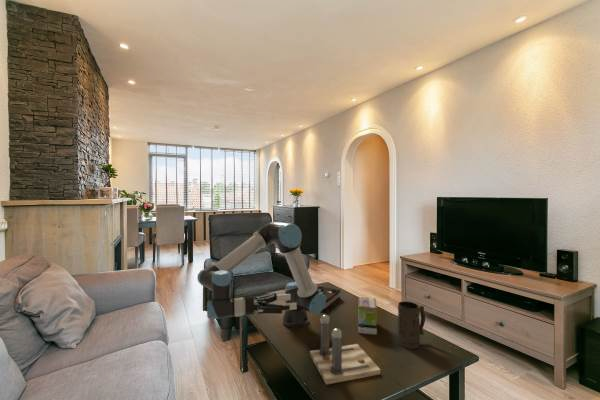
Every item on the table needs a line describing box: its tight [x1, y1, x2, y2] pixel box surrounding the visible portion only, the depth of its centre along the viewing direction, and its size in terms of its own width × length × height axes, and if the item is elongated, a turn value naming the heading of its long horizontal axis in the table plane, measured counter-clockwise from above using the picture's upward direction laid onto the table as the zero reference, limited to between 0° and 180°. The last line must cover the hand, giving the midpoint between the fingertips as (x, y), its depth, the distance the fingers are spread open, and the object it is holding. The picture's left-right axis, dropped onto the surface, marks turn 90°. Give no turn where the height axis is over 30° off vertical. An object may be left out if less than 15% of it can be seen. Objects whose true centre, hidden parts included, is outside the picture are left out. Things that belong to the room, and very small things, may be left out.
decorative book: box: [317, 285, 341, 312], centre depth 196 cm, size 19×8×30 cm
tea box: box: [357, 296, 378, 335], centre depth 158 cm, size 15×10×15 cm
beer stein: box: [396, 301, 426, 350], centre depth 142 cm, size 15×11×20 cm
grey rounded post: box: [330, 327, 343, 375], centre depth 116 cm, size 4×4×18 cm
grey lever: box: [318, 314, 331, 356], centre depth 129 cm, size 4×4×18 cm
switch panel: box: [309, 343, 381, 385], centre depth 124 cm, size 21×24×2 cm
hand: (293, 301), depth 129 cm, fingers open, 11 cm apart
